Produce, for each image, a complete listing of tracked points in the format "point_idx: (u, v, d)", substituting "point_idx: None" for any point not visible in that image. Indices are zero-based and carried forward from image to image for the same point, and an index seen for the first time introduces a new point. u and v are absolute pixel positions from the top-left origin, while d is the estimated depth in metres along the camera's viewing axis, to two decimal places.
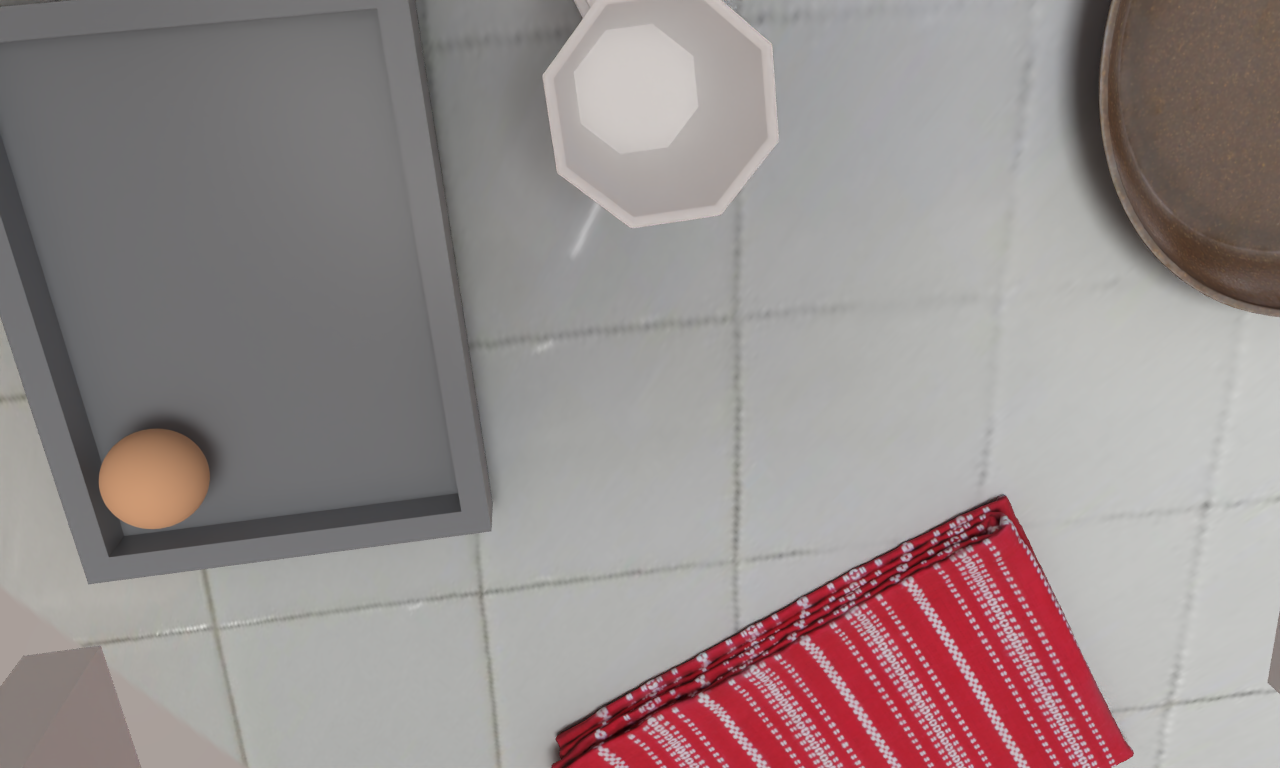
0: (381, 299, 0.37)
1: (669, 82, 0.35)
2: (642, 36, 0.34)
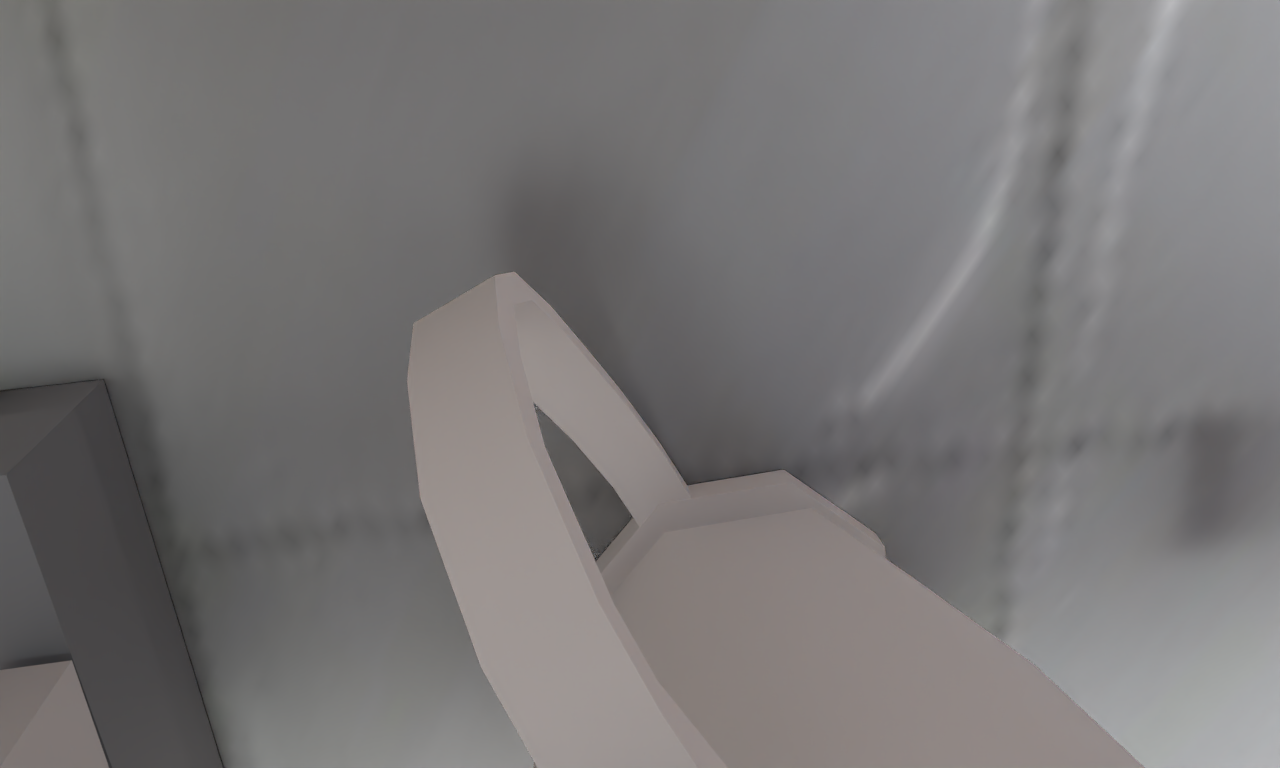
0: None
1: None
2: None
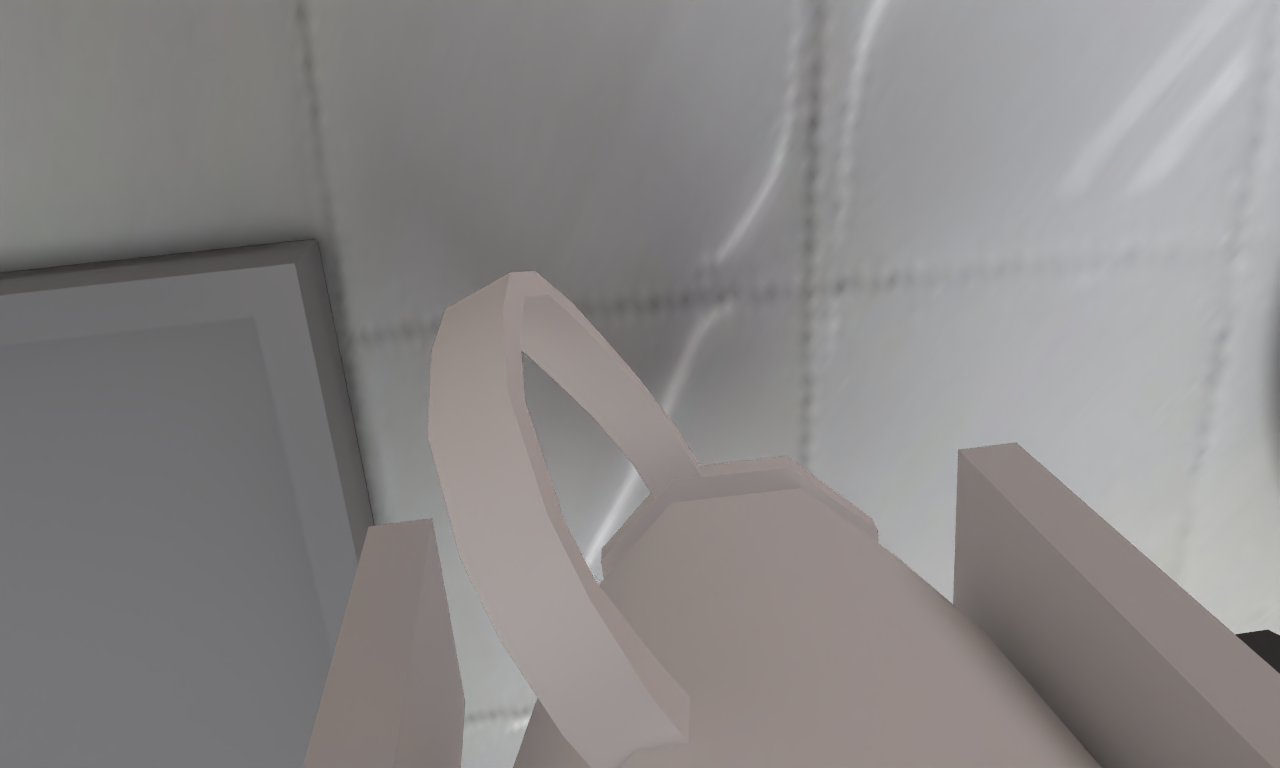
0: (283, 685, 0.25)
1: None
2: None
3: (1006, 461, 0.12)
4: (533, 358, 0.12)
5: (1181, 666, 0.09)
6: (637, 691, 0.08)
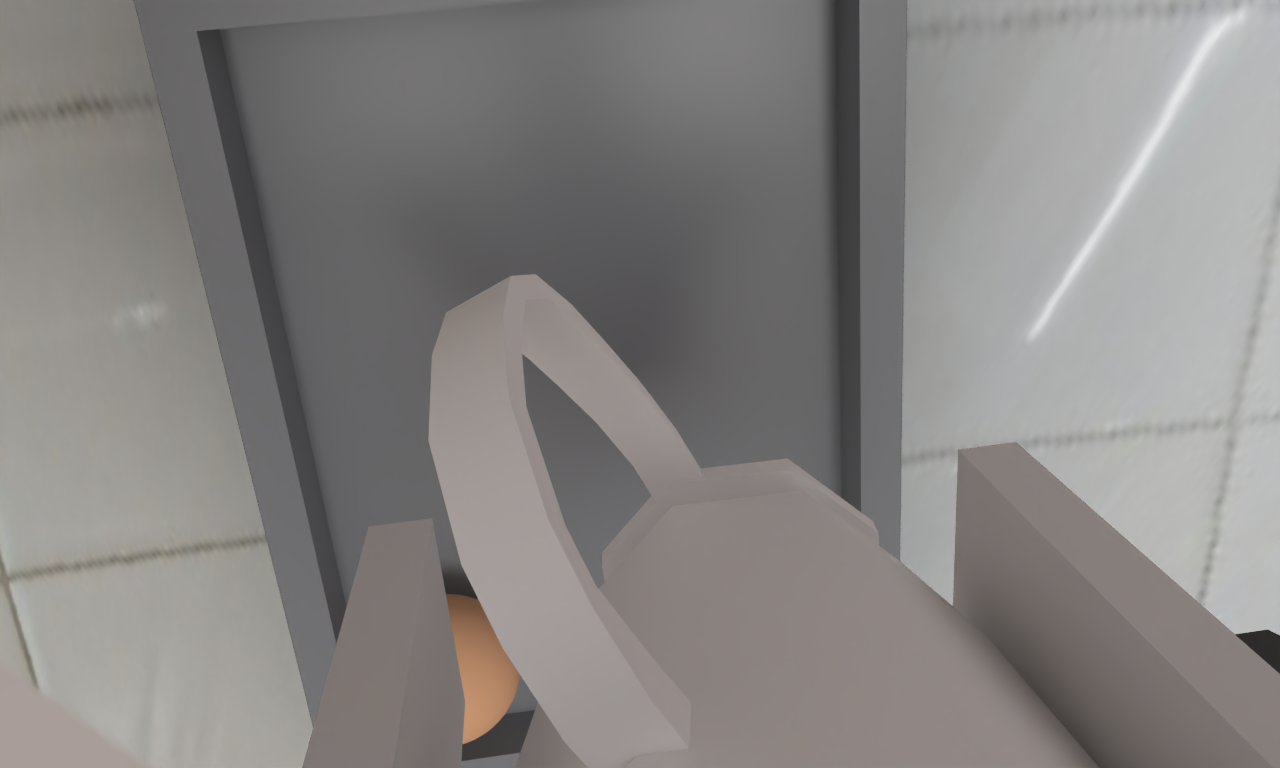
0: (771, 404, 0.25)
1: None
2: None
3: (1005, 461, 0.12)
4: (534, 361, 0.12)
5: (1180, 666, 0.09)
6: (640, 698, 0.07)
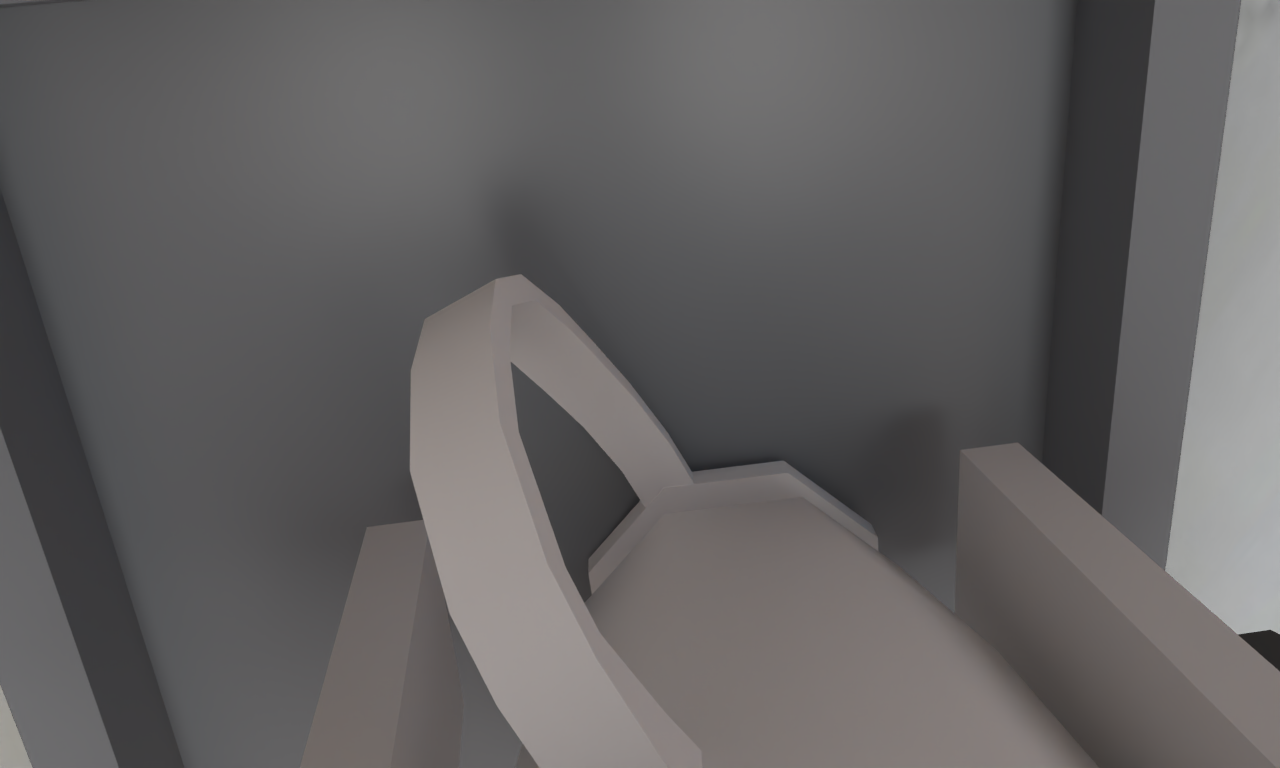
0: None
1: None
2: None
3: (1007, 461, 0.12)
4: (518, 365, 0.11)
5: (1184, 666, 0.09)
6: (648, 757, 0.07)
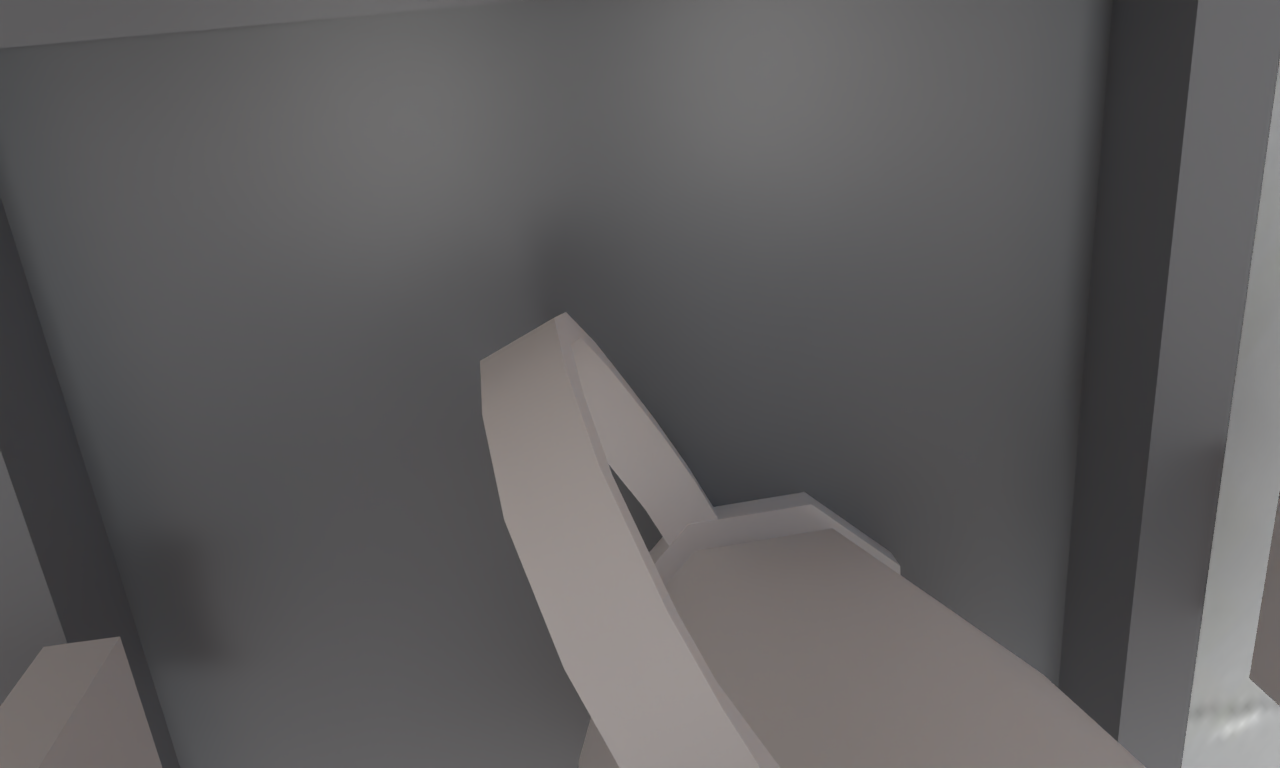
0: None
1: None
2: None
3: None
4: None
5: None
6: None
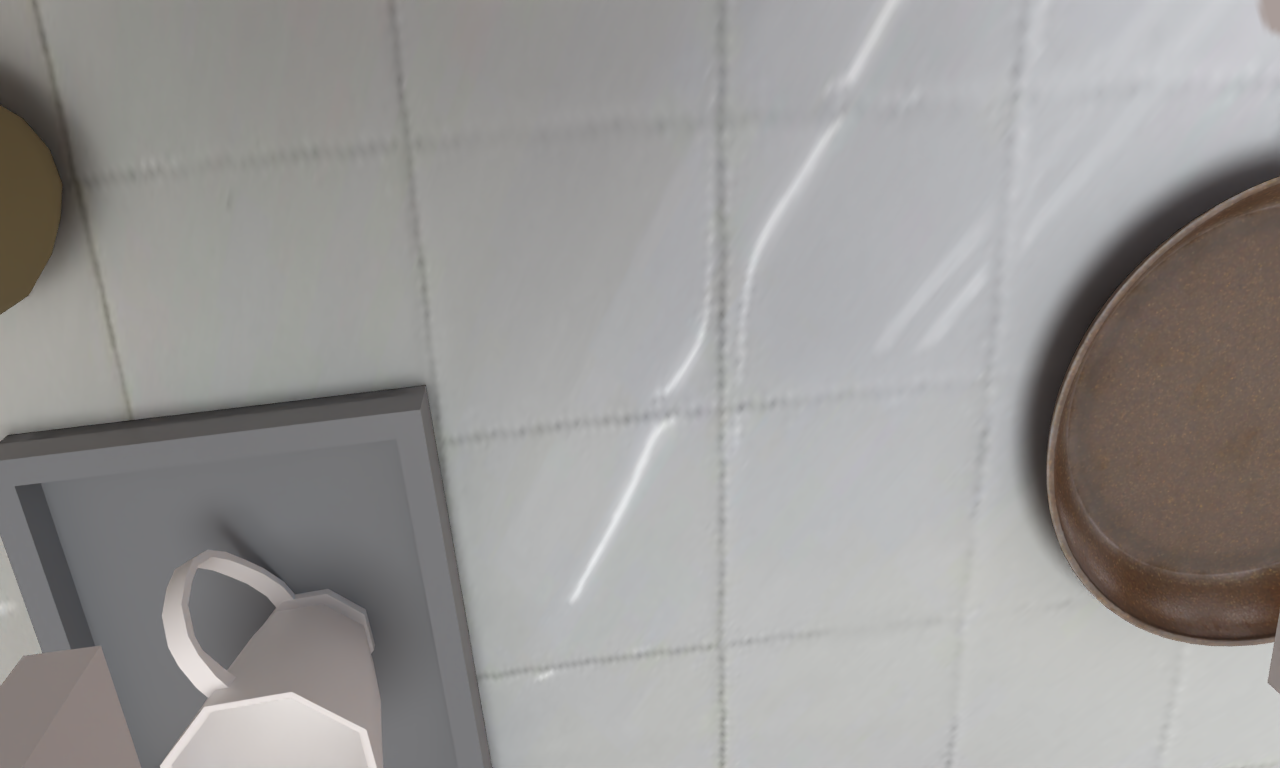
0: (398, 650, 0.41)
1: None
2: None
3: None
4: (215, 570, 0.36)
5: None
6: (212, 675, 0.32)
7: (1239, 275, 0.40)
